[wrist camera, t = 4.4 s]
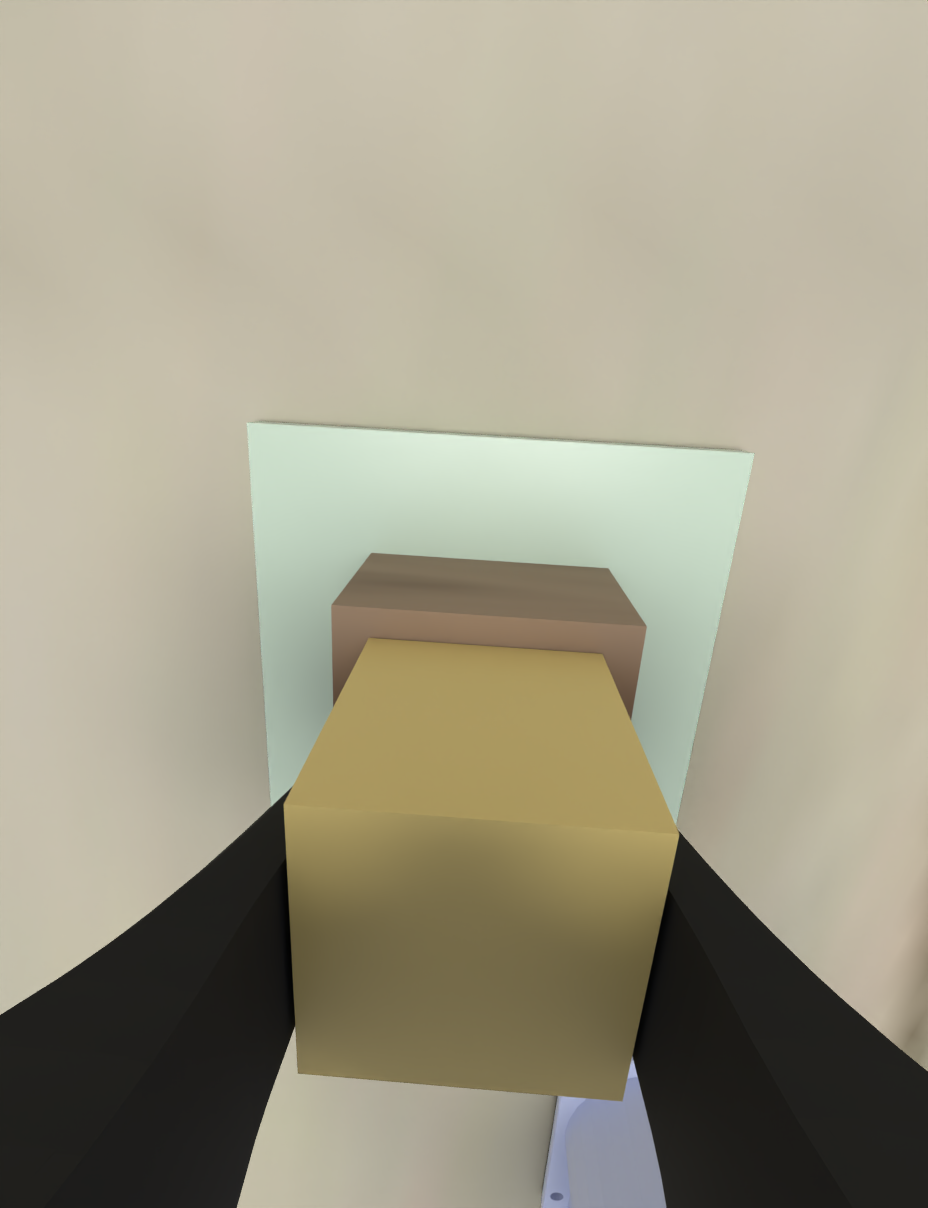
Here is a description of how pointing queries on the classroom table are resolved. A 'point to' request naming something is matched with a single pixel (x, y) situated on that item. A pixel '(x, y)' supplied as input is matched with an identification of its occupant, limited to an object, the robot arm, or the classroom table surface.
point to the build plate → (490, 551)
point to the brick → (475, 873)
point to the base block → (488, 611)
